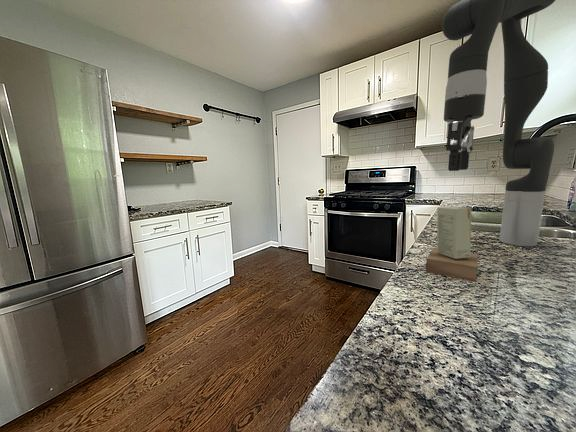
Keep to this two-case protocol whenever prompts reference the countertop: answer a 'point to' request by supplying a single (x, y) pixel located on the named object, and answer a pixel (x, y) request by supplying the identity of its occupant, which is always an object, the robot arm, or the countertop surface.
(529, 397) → the countertop surface
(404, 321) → the countertop surface
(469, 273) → the walnut block
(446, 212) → the skincare box
